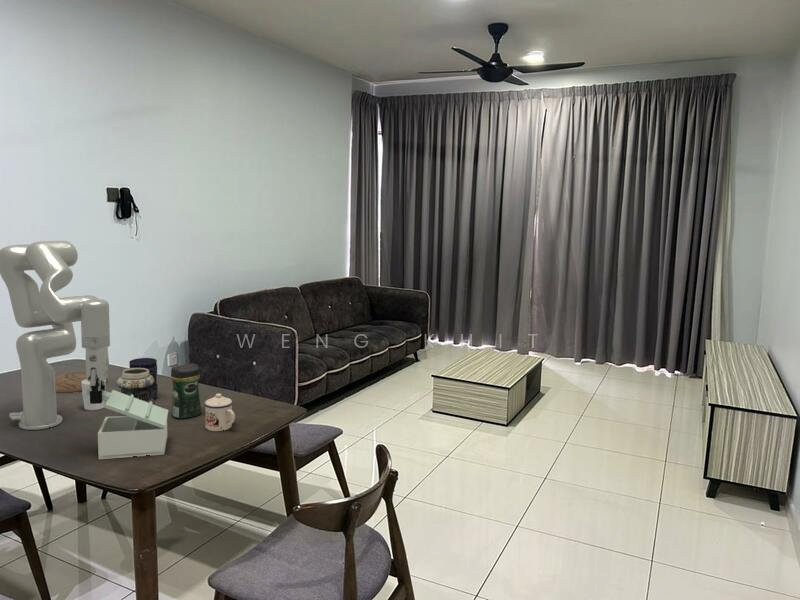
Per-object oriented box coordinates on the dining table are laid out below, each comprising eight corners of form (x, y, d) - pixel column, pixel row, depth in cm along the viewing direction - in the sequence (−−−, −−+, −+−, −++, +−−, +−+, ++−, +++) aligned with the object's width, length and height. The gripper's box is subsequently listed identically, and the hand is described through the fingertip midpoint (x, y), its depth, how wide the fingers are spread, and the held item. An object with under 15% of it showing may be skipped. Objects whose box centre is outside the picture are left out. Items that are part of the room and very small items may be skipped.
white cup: (81, 412, 216) (80, 384, 214) (83, 405, 223) (82, 378, 221) (106, 409, 219) (105, 383, 217) (107, 403, 226) (106, 377, 224)
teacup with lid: (198, 427, 206) (198, 394, 204) (219, 420, 213) (219, 388, 211) (223, 436, 199) (223, 402, 198) (244, 428, 207) (244, 395, 205)
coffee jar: (193, 409, 223) (193, 360, 220) (204, 415, 218) (203, 365, 215) (168, 415, 216) (167, 364, 213) (178, 421, 211) (177, 369, 208)
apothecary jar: (157, 414, 217) (156, 365, 214) (153, 426, 205) (152, 374, 203) (120, 415, 213) (119, 366, 211) (114, 428, 202) (112, 376, 199)
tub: (98, 459, 178) (97, 433, 177) (106, 441, 191) (105, 416, 190) (164, 454, 183) (163, 429, 182) (167, 437, 197) (166, 413, 195)
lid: (82, 399, 174) (85, 394, 174) (91, 385, 187) (94, 380, 187) (163, 428, 182) (166, 423, 182) (167, 412, 195) (169, 407, 195)
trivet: (65, 398, 230) (65, 393, 229) (23, 387, 240) (23, 383, 240) (121, 382, 252) (120, 377, 252) (80, 373, 263) (79, 368, 262)
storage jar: (161, 395, 237) (161, 358, 235) (152, 403, 227) (151, 365, 225) (136, 394, 237) (135, 357, 234) (125, 402, 227) (124, 364, 225)
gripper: (104, 348, 172) (106, 409, 175) (114, 334, 188) (115, 391, 191) (75, 348, 170) (77, 410, 173) (87, 335, 186) (89, 392, 189)
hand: (97, 400), depth 182 cm, fingers closed on lid, 4 cm apart
